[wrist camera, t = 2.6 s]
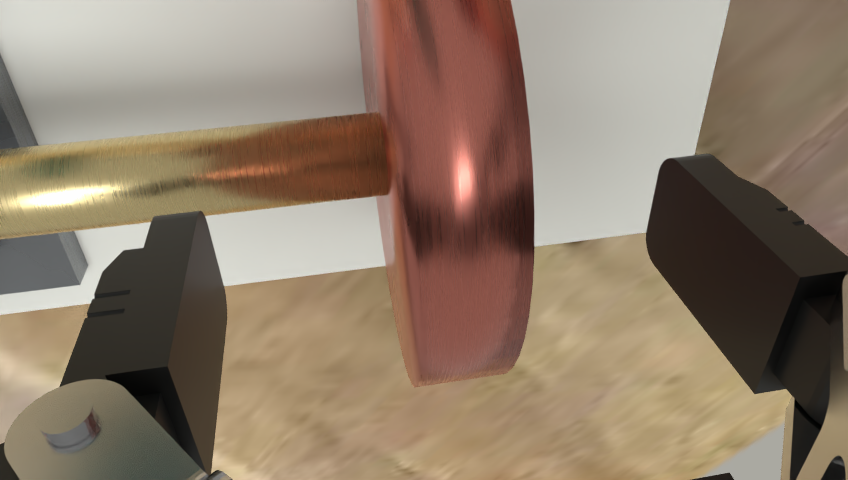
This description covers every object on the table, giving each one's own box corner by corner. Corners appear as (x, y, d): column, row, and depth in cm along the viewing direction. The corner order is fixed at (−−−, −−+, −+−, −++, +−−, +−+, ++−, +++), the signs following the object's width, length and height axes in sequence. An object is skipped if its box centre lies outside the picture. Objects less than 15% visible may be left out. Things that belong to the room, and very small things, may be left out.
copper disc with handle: (419, -138, 15) (560, -56, 7) (430, 214, 21) (516, 478, 13) (-438, -92, 13) (-1560, 95, 5) (-168, 285, 19) (-504, 651, 11)
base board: (765, -253, 16) (789, -256, 16) (664, 213, 24) (677, 228, 24) (-408, -212, 13) (-453, -212, 12) (-80, 306, 21) (-94, 326, 21)
